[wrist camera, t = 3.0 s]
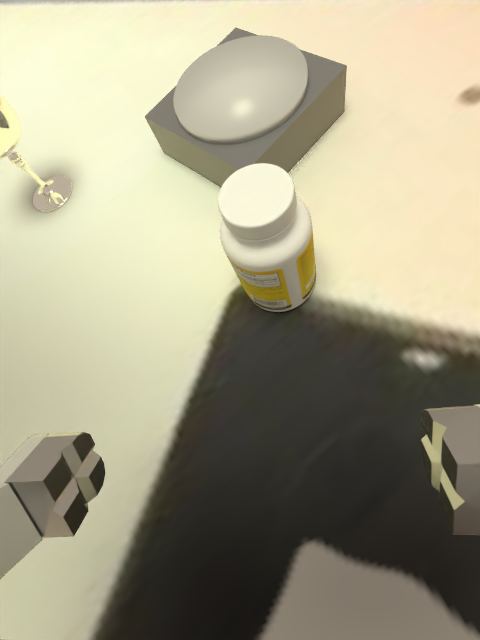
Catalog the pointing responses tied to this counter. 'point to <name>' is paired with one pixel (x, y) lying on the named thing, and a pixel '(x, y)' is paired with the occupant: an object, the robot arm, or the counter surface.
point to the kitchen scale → (248, 106)
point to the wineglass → (3, 137)
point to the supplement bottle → (268, 236)
